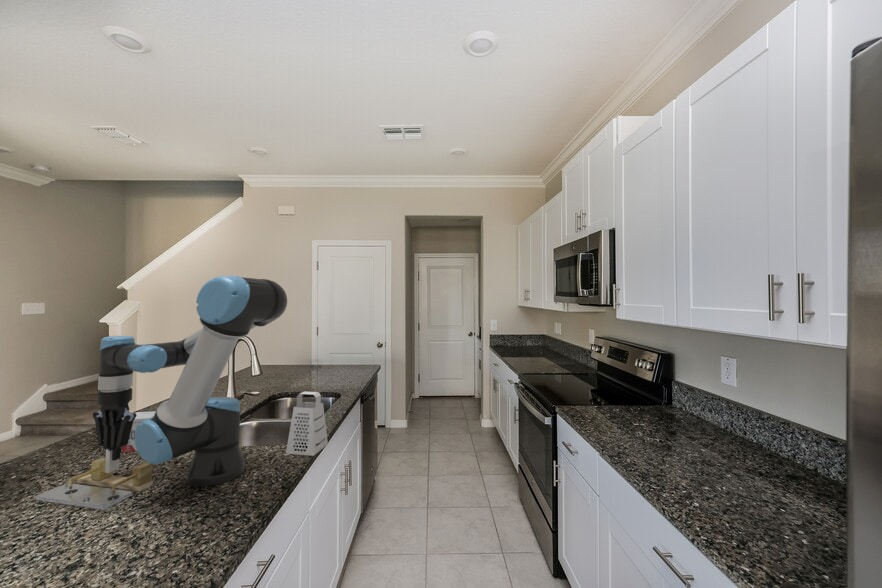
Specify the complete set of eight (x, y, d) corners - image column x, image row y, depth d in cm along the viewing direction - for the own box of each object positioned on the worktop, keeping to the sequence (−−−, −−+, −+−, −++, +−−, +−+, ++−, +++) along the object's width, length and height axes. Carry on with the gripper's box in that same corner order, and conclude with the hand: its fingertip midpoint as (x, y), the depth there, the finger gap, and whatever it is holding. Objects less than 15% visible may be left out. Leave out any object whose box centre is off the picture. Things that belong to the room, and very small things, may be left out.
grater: (313, 455, 124) (315, 397, 125) (285, 453, 126) (287, 395, 126) (327, 444, 134) (329, 390, 135) (302, 442, 136) (303, 388, 137)
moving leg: (113, 474, 105) (113, 457, 105) (73, 491, 96) (74, 472, 96) (104, 473, 106) (105, 456, 106) (64, 490, 96) (65, 471, 96)
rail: (152, 484, 103) (153, 462, 103) (116, 503, 93) (117, 478, 93) (91, 476, 107) (92, 455, 107) (50, 493, 97) (51, 470, 97)
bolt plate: (131, 495, 97) (132, 490, 97) (103, 509, 90) (103, 504, 90) (67, 486, 101) (68, 481, 101) (35, 499, 94) (35, 494, 94)
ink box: (120, 453, 124) (122, 418, 124) (134, 444, 132) (135, 411, 132) (150, 450, 126) (151, 416, 126) (161, 441, 134) (162, 410, 135)
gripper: (146, 387, 107) (143, 467, 107) (111, 384, 110) (108, 462, 109) (120, 393, 100) (116, 479, 99) (83, 390, 102) (79, 474, 102)
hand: (111, 470), depth 104 cm, fingers closed
